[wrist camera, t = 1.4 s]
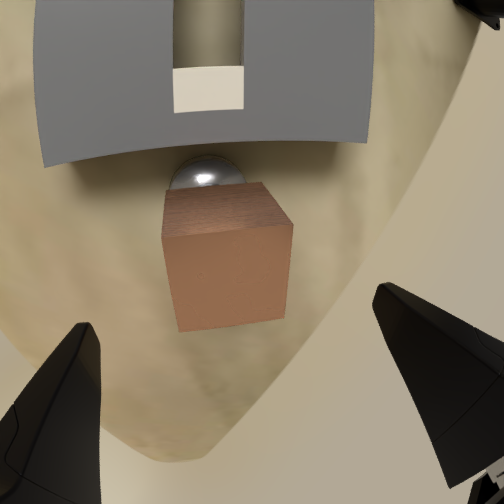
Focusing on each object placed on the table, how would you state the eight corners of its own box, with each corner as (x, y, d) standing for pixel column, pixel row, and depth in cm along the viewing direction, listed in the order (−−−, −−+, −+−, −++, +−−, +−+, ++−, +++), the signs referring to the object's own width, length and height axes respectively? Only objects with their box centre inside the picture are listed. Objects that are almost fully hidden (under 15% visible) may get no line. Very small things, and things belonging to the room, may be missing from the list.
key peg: (245, 153, 16) (299, 218, 9) (244, 222, 19) (288, 320, 12) (165, 159, 15) (153, 232, 8) (173, 229, 18) (175, 336, 11)
